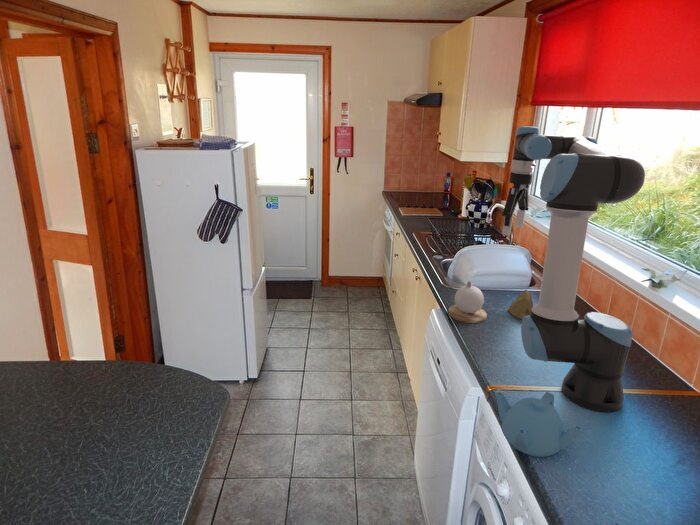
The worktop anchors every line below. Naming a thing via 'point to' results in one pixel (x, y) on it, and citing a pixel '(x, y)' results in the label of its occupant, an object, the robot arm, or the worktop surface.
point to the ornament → (469, 298)
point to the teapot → (534, 425)
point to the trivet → (467, 315)
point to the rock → (522, 305)
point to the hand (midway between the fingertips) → (512, 230)
